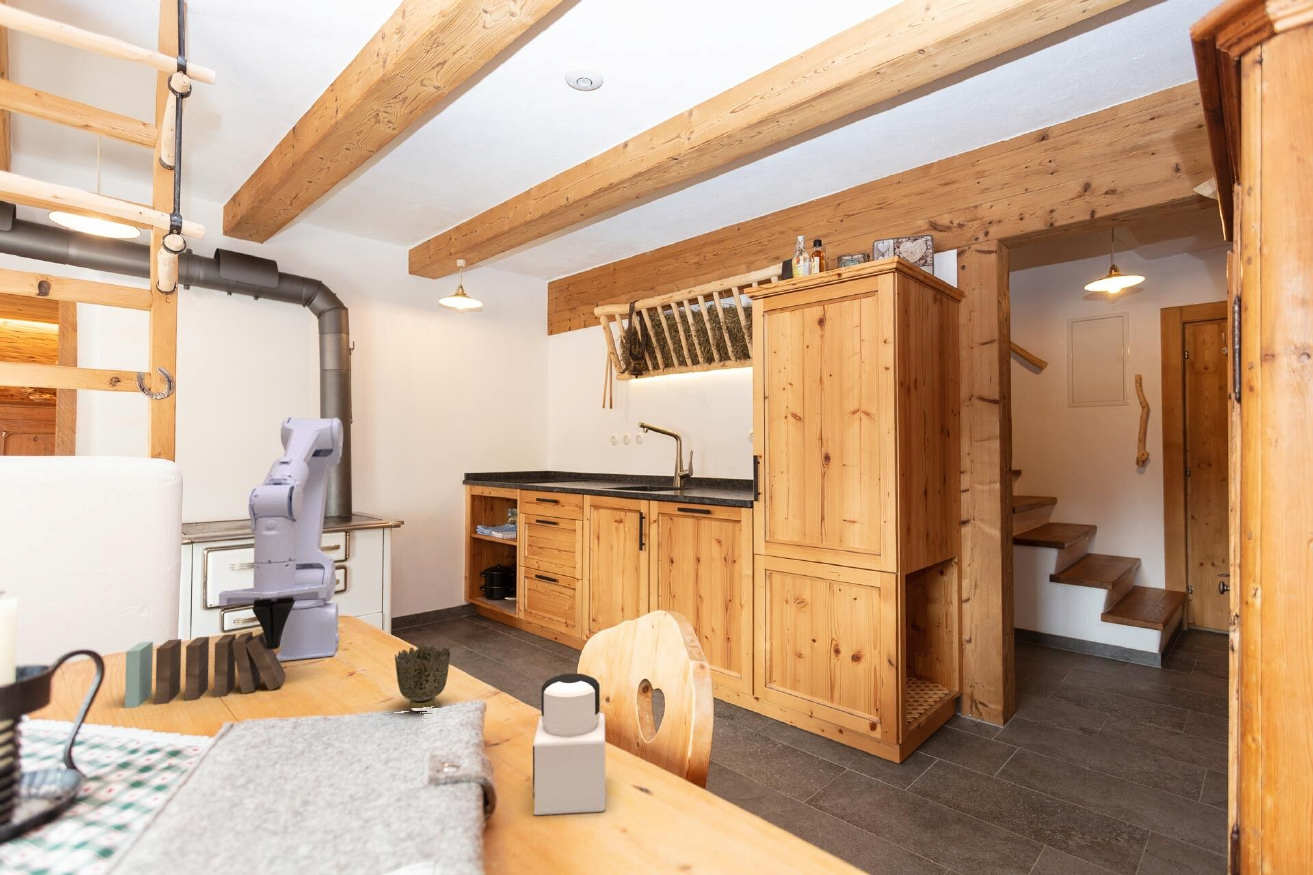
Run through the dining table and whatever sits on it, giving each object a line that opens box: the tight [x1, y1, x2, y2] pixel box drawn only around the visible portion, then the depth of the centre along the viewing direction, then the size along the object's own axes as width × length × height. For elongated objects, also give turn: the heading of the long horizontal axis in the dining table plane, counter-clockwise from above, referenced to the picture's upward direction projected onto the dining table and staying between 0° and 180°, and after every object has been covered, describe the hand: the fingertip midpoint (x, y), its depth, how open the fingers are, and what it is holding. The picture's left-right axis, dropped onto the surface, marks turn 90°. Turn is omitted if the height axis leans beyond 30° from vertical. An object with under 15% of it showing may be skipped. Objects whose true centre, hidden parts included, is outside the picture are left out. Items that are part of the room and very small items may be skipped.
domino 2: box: [154, 638, 182, 705], centre depth 95 cm, size 2×5×8 cm, turn 21°
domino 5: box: [232, 631, 262, 695], centre depth 99 cm, size 2×5×8 cm, turn 21°
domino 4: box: [213, 633, 237, 699], centre depth 98 cm, size 2×5×8 cm, turn 21°
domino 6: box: [246, 631, 287, 692], centre depth 100 cm, size 2×5×8 cm, turn 22°
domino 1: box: [124, 641, 154, 709], centre depth 94 cm, size 2×5×8 cm, turn 21°
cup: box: [394, 644, 452, 709], centre depth 90 cm, size 8×7×8 cm
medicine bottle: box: [532, 673, 607, 816], centre depth 67 cm, size 7×7×12 cm
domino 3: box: [184, 636, 210, 702], centre depth 97 cm, size 2×5×8 cm, turn 21°
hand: (273, 647), depth 100 cm, fingers closed
